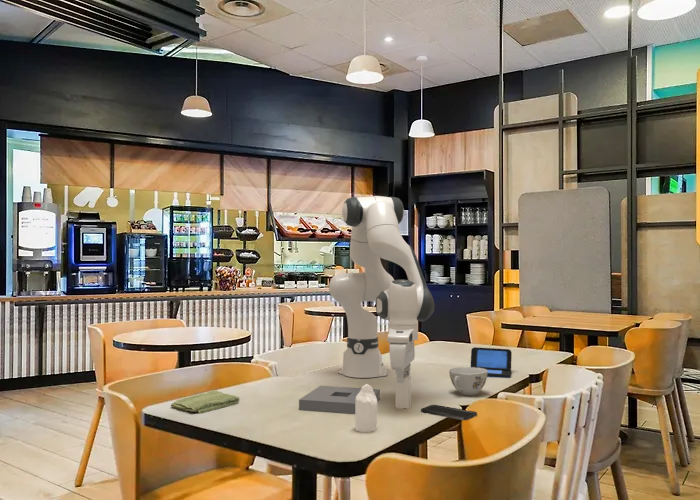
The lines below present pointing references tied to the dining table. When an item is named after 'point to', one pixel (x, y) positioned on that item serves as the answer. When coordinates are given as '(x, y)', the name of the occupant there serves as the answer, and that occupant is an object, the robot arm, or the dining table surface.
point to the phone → (449, 412)
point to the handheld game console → (492, 361)
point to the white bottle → (366, 410)
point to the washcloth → (205, 402)
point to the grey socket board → (332, 399)
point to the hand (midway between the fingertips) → (403, 379)
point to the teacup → (468, 379)
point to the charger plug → (403, 393)
